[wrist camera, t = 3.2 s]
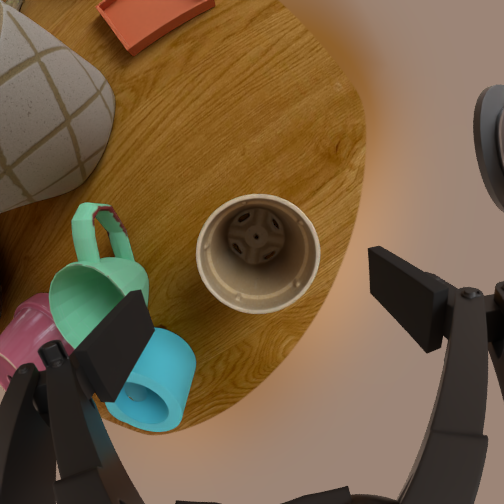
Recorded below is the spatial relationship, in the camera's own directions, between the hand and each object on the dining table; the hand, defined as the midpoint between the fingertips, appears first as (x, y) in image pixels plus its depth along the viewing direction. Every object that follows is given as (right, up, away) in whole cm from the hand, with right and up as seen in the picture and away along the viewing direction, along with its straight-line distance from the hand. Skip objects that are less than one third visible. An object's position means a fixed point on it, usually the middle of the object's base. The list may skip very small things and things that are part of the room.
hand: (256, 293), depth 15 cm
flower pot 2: (0, +4, +15) cm, 15 cm away
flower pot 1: (-30, -14, +6) cm, 33 cm away
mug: (-14, +1, +15) cm, 21 cm away
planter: (-24, +17, +11) cm, 31 cm away
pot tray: (-12, +32, +7) cm, 35 cm away
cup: (-13, -13, +19) cm, 26 cm away
